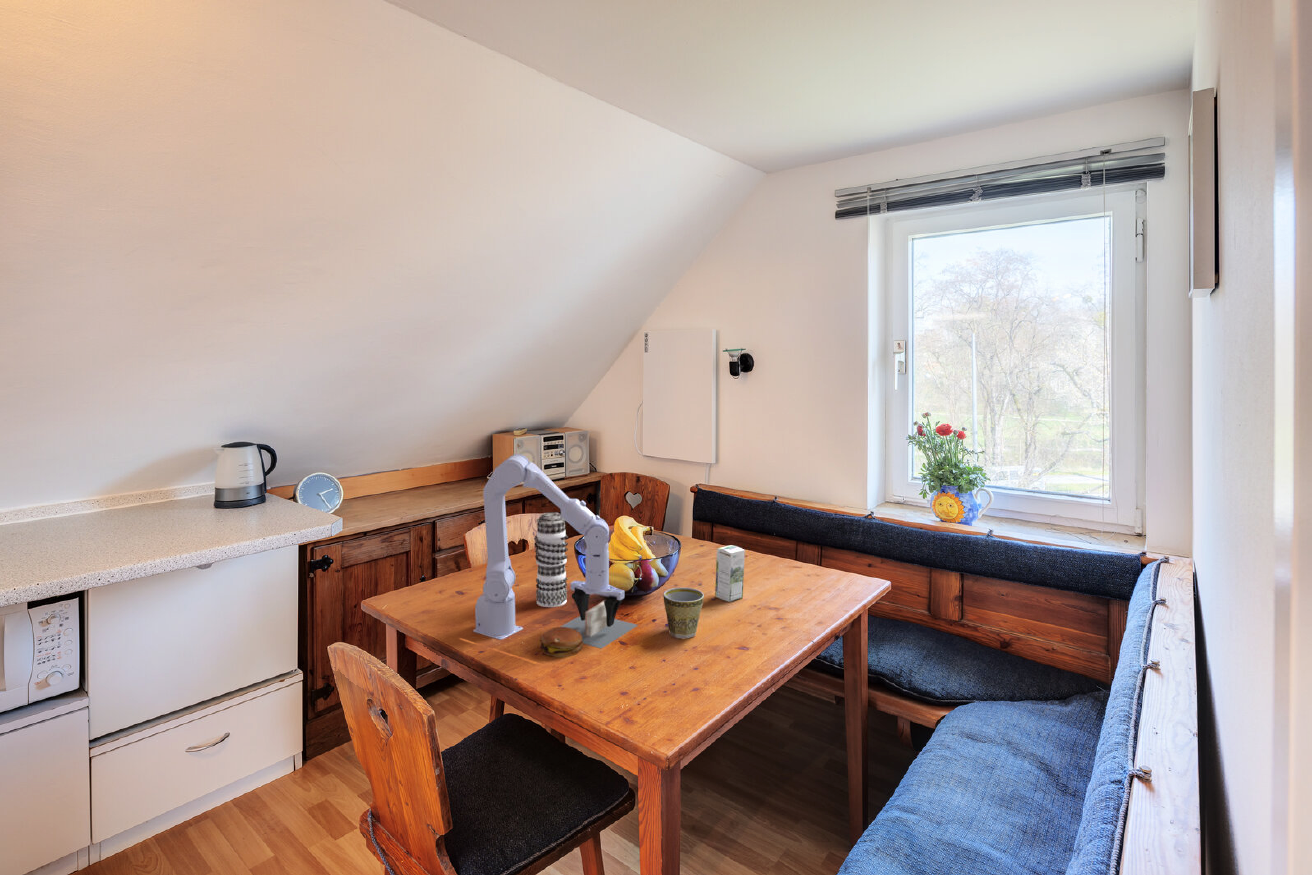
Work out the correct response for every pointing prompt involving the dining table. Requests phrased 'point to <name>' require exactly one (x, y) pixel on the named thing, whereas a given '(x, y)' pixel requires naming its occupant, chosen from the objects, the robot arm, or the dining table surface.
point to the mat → (601, 632)
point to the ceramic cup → (683, 611)
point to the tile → (595, 619)
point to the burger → (561, 642)
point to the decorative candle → (551, 560)
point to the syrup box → (729, 573)
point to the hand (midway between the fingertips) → (597, 622)
